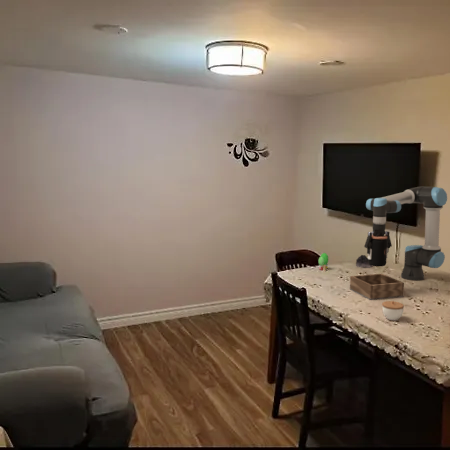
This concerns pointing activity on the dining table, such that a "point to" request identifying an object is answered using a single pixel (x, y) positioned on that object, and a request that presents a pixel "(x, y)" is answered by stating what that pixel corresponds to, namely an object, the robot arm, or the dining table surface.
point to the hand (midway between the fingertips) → (377, 258)
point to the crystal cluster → (363, 262)
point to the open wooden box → (376, 286)
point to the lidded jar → (392, 310)
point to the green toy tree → (323, 261)
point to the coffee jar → (378, 251)
